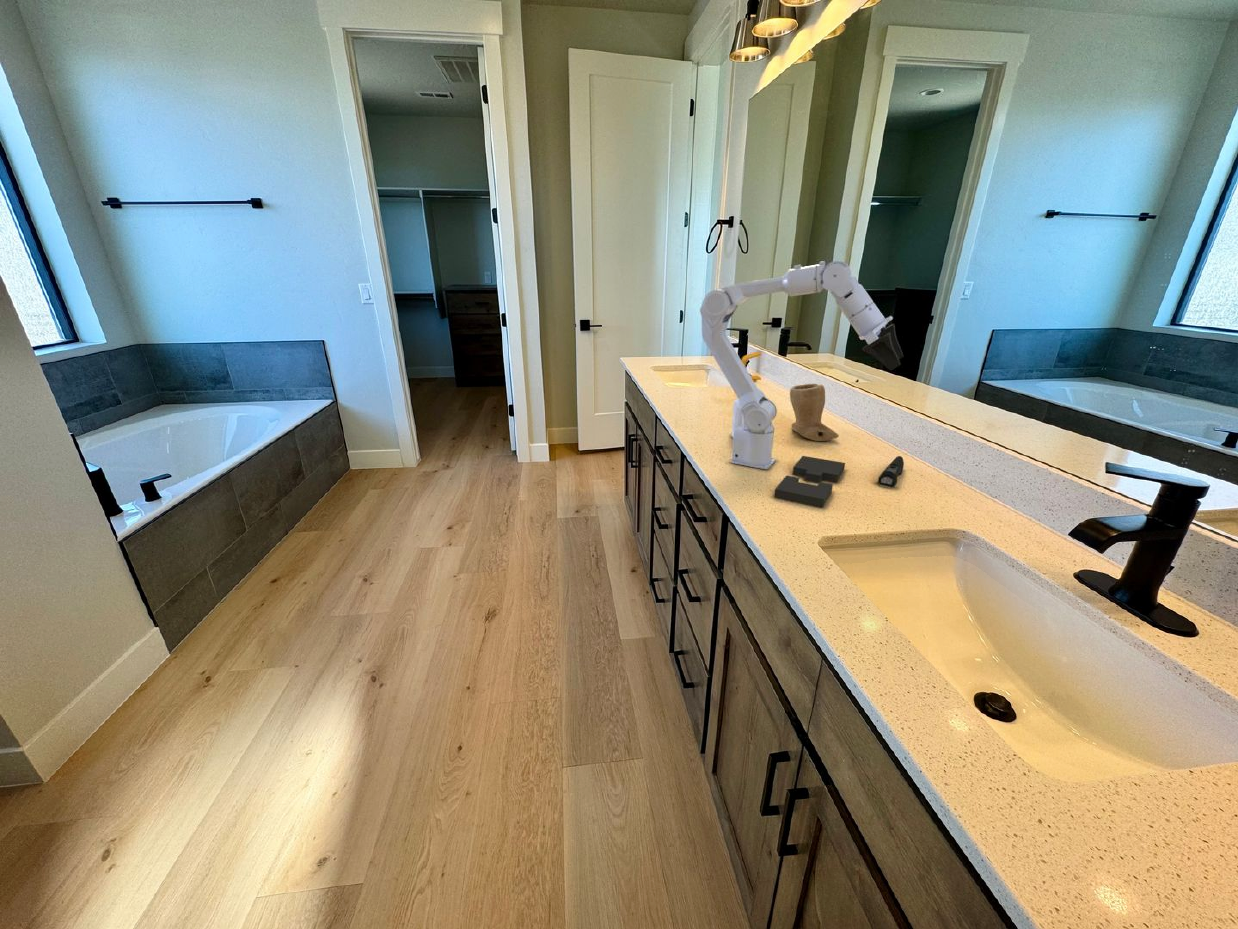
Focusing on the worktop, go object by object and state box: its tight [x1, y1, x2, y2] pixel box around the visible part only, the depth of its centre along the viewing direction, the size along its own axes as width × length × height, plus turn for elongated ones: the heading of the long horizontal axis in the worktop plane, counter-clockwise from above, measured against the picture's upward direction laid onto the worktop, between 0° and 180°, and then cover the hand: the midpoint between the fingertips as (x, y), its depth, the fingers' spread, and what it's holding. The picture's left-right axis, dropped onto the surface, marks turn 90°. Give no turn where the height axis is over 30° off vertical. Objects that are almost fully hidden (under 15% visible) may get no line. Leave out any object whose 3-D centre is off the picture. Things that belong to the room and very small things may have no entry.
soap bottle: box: [730, 351, 762, 438], centre depth 140 cm, size 9×9×25 cm
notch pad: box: [773, 475, 834, 509], centre depth 106 cm, size 10×9×2 cm
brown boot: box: [789, 383, 840, 442], centre depth 143 cm, size 15×12×15 cm
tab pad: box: [792, 455, 846, 484], centre depth 117 cm, size 10×11×2 cm
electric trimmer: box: [877, 455, 905, 489], centre depth 115 cm, size 4×16×3 cm, turn 142°
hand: (897, 363), depth 104 cm, fingers open, 7 cm apart
